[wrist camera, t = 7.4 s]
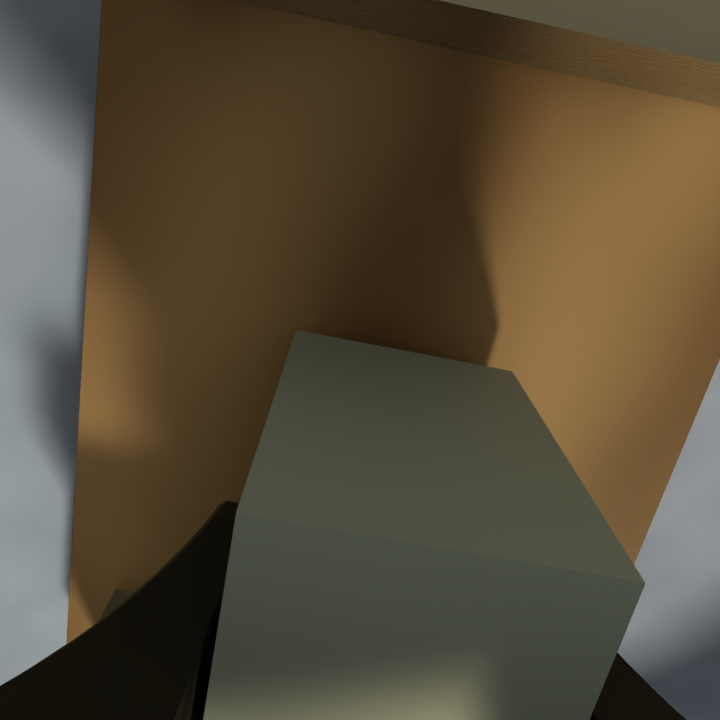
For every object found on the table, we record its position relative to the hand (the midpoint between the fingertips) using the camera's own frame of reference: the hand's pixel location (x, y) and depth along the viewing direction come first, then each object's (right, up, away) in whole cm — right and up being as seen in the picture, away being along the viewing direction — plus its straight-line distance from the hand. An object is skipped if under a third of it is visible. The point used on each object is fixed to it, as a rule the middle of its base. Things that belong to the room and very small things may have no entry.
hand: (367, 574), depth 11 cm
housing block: (0, +1, +2) cm, 2 cm away
